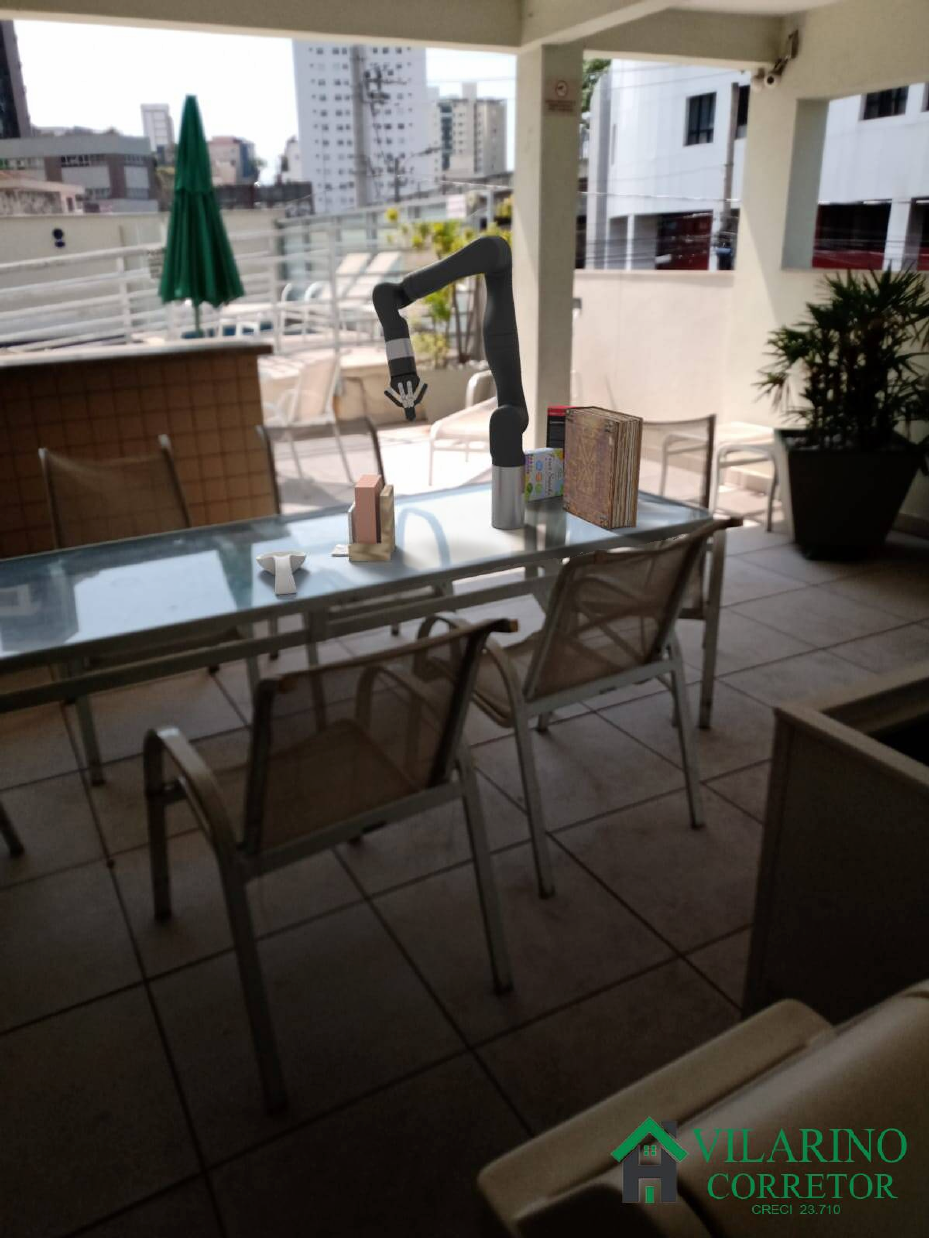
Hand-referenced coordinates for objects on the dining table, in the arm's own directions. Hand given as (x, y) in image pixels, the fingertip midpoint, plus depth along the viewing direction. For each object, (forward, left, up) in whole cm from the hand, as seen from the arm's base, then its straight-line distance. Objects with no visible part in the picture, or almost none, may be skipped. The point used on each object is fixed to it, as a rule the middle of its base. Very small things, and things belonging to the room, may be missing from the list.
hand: (411, 421), depth 249 cm
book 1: (+8, +32, -28) cm, 43 cm away
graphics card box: (-47, -30, -28) cm, 63 cm away
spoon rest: (+26, +55, -28) cm, 67 cm away
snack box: (-36, -24, -28) cm, 52 cm away
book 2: (-53, 0, -28) cm, 60 cm away
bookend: (+15, +34, -28) cm, 46 cm away
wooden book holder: (+7, +35, -28) cm, 45 cm away
